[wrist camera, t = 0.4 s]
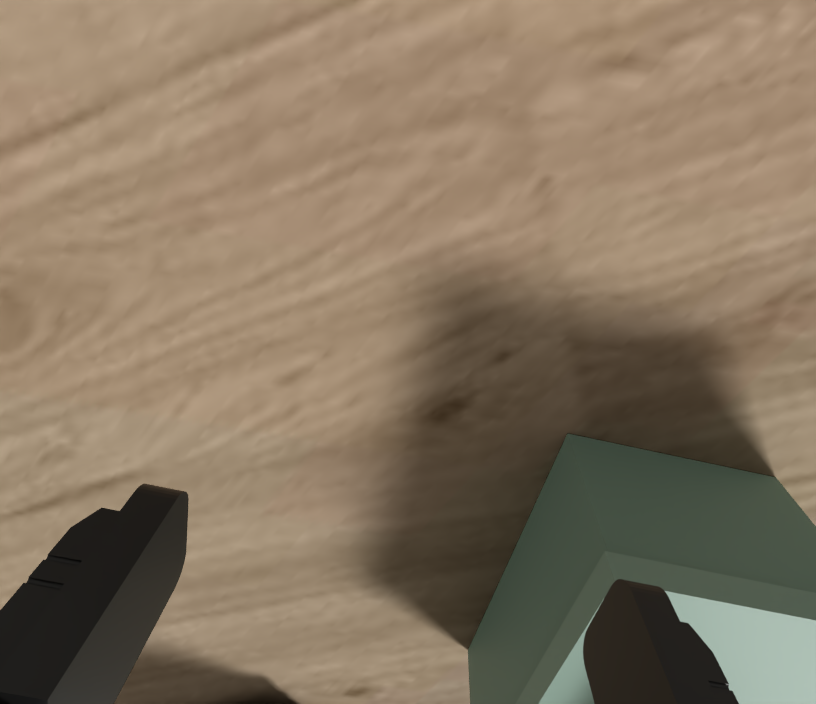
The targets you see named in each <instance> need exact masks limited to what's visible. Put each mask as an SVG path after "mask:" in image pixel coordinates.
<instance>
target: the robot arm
mask: <svg viewBox="0 0 816 704" xmlns="http://www.w3.org/2000/svg"><path fill="white" fill-rule="evenodd" d="M187 520H188V494H187V492H184V491H179V490H174V489H169V488H164V487H159V486H154V485H148V484H142V485H141V486H139V487H138V488H137V489H136V491H135V492H134V493H133V495H132V496H131V497H130V498H129V500H128V501H127V502H126V504H125V505H124V506H123V508H122V509H121V510H120V511H116V510H110V509H105V508H101V509H99V510H98V511H96V512H94V513H93V514H91V515H90V516H88V517H87V518H85V519H83V520H82V521H80V522H79V523H77V524H76V525H74V526H73V527H71V528H70V529H69V530H68V531H67V533H66V534H65V535H64V536H63V537H62V538H61V540H60V541H59V542H58V543H57V544H56V546H55V547H54V548H53V549H52V550H51V551H50V553H49V554H48V557H47V559H46V560H43V561H42V562H41V563H40V564H39V566H38V567H37V568H36V569H35V570H34V571H33V573H32V574H31V575H30V576H29V579H28V581H27V583H23V584H22V586H21V587H20V588H19V589H18V590H17V591H16V593H15V594H14V595H13V596H12V597H11V599H10V600H9V601H8V602H7V603H6V604H5V606H4V607H3V608H2V609H1V610H0V704H114V702H115V700H116V698H117V696H118V694H119V693H120V691H121V689H122V687H123V685H124V683H125V681H126V679H127V677H128V676H129V674H130V672H131V670H132V668H133V666H134V664H135V662H136V660H137V659H138V657H139V655H140V653H141V651H142V649H143V647H144V645H145V643H146V642H147V640H148V638H149V636H150V634H151V632H152V630H153V628H154V626H155V625H156V623H157V621H158V619H159V617H160V615H161V613H162V611H163V609H164V608H165V606H166V604H167V602H168V600H169V598H170V596H171V594H172V592H173V591H174V589H175V587H176V584H177V582H178V580H179V577H180V574H181V572H182V568H183V565H184V561H185V556H186V543H187ZM583 659H584V665H585V670H586V673H587V677H588V681H589V685H590V688H591V692H592V696H593V699H594V703H595V704H739V703H738V701H737V699H736V697H735V695H734V693H733V691H731V690H729V683H728V681H727V679H726V677H725V675H724V673H723V671H722V669H721V667H720V665H719V663H718V661H717V659H716V657H715V655H714V653H713V652H712V651H711V649H710V648H709V647H708V646H707V645H706V643H705V642H704V641H703V640H702V639H701V638H700V636H699V635H698V634H697V633H696V632H695V630H694V629H693V628H692V627H691V626H690V624H689V623H685V622H680V620H679V618H678V616H677V614H676V612H675V610H674V607H673V605H672V603H671V601H670V599H669V597H668V595H667V593H666V592H665V591H664V590H663V589H662V588H660V587H658V586H653V585H648V584H643V583H638V582H633V581H628V580H623V579H618V580H616V581H615V582H614V583H613V584H612V585H611V587H610V589H609V591H608V593H607V594H606V596H605V598H604V600H603V602H602V603H601V605H600V607H599V609H598V610H597V612H596V614H595V616H594V618H593V619H592V621H591V623H590V625H589V627H588V628H587V631H586V633H585V637H584V643H583Z"/></svg>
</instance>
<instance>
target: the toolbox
mask: <svg viewBox="0 0 816 704" xmlns="http://www.w3.org/2000/svg"><path fill="white" fill-rule="evenodd" d="M604 551H608V552H613V553H618V554H623V555H628V556H633V557H638V558H643V559H648V560H653V561H658V562H663V563H668V564H673V565H678V566H683V567H688V568H693V569H698V570H703V571H708V572H713V573H718V574H723V575H728V576H733V577H738V578H743V579H748V580H753V581H758V582H763V583H768V584H773V585H778V586H783V587H788V588H793V589H798V590H803V591H808V592H813V593H816V526H815V525H814V524H813V523H812V521H811V520H810V519H809V518H808V516H807V515H806V514H805V513H804V512H803V510H802V509H801V508H800V507H799V505H798V504H797V503H796V502H795V500H794V499H793V498H792V497H791V496H790V494H789V493H788V492H787V491H786V489H785V488H784V487H783V486H782V484H781V483H780V482H779V481H778V480H777V478H776V477H772V476H767V475H762V474H757V473H753V472H748V471H743V470H739V469H734V468H729V467H724V466H720V465H715V464H710V463H705V462H701V461H696V460H691V459H686V458H682V457H677V456H672V455H667V454H663V453H658V452H653V451H648V450H644V449H639V448H634V447H629V446H625V445H620V444H615V443H611V442H606V441H601V440H596V439H592V438H587V437H582V436H577V435H573V434H568V433H567V436H566V438H565V440H564V442H563V444H562V447H561V449H560V451H559V453H558V455H557V457H556V460H555V462H554V464H553V466H552V468H551V471H550V473H549V475H548V477H547V479H546V481H545V484H544V486H543V488H542V490H541V492H540V494H539V497H538V499H537V501H536V503H535V505H534V508H533V510H532V512H531V514H530V516H529V518H528V521H527V523H526V525H525V527H524V529H523V531H522V534H521V536H520V538H519V540H518V542H517V545H516V547H515V549H514V551H513V553H512V555H511V558H510V560H509V562H508V564H507V566H506V569H505V571H504V573H503V575H502V577H501V579H500V582H499V584H498V586H497V588H496V590H495V592H494V595H493V597H492V599H491V601H490V603H489V606H488V608H487V610H486V612H485V614H484V616H483V619H482V621H481V623H480V625H479V627H478V630H477V632H476V634H475V636H474V638H473V640H472V643H471V645H470V647H469V649H468V663H469V685H470V704H516V702H517V700H518V699H519V697H520V695H521V694H522V692H523V690H524V688H525V687H526V685H527V683H528V682H529V680H530V678H531V676H532V675H533V673H534V671H535V670H536V668H537V666H538V664H539V663H540V661H541V659H542V658H543V656H544V654H545V652H546V651H547V649H548V647H549V646H550V644H551V642H552V640H553V639H554V637H555V635H556V634H557V632H558V630H559V628H560V627H561V625H562V623H563V622H564V620H565V618H566V616H567V615H568V613H569V611H570V610H571V608H572V606H573V605H574V603H575V601H576V599H577V598H578V596H579V594H580V593H581V591H582V589H583V587H584V586H585V584H586V582H587V581H588V579H589V577H590V575H591V574H592V572H593V570H594V569H595V567H596V565H597V563H598V562H599V560H600V558H601V557H602V555H603V553H604Z"/></svg>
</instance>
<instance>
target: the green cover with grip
mask: <svg viewBox="0 0 816 704" xmlns="http://www.w3.org/2000/svg"><path fill="white" fill-rule="evenodd" d="M618 579H623V580H628V581H633V582H638V583H643V584H648V585H653V586H658V587H660V588H662V589H663V590H664V591H665V592H666V593H667V595H668V597H669V599H670V601H671V603H672V605H673V607H674V610H675V612H676V614H677V616H678V618H679V620H680V622H685V623H689V624H690V626H691V627H692V628H693V629H694V630H695V632H696V633H697V634H698V635H699V636H700V638H701V639H702V640H703V641H704V642H705V643H706V645H707V646H708V647H709V648H710V649H711V651H712V652H713V653H714V655H715V657H716V659H717V661H718V663H719V665H720V667H721V669H722V671H723V673H724V675H725V677H726V679H727V681H728V683H729V690H731V691H733V693H734V695H735V697H736V699H737V701H738V703H739V704H816V593H813V592H808V591H803V590H798V589H793V588H788V587H783V586H778V585H773V584H768V583H763V582H758V581H753V580H748V579H743V578H738V577H733V576H728V575H723V574H718V573H713V572H708V571H703V570H698V569H693V568H688V567H683V566H678V565H673V564H668V563H663V562H658V561H653V560H648V559H643V558H638V557H633V556H628V555H623V554H618V553H613V552H608V551H604V553H603V555H602V557H601V558H600V560H599V562H598V563H597V565H596V567H595V569H594V570H593V572H592V574H591V575H590V577H589V579H588V581H587V582H586V584H585V586H584V587H583V589H582V591H581V593H580V594H579V596H578V598H577V599H576V601H575V603H574V605H573V606H572V608H571V610H570V611H569V613H568V615H567V616H566V618H565V620H564V622H563V623H562V625H561V627H560V628H559V630H558V632H557V634H556V635H555V637H554V639H553V640H552V642H551V644H550V646H549V647H548V649H547V651H546V652H545V654H544V656H543V658H542V659H541V661H540V663H539V664H538V666H537V668H536V670H535V671H534V673H533V675H532V676H531V678H530V680H529V682H528V683H527V685H526V687H525V688H524V690H523V692H522V694H521V695H520V697H519V699H518V700H517V702H516V704H595V703H594V699H593V696H592V692H591V688H590V685H589V681H588V677H587V673H586V670H585V665H584V659H583V643H584V637H585V633H586V631H587V628H588V627H589V625H590V623H591V621H592V619H593V618H594V616H595V614H596V612H597V610H598V609H599V607H600V605H601V603H602V602H603V600H604V598H605V596H606V594H607V593H608V591H609V589H610V587H611V585H612V584H613V583H614V582H615V581H616V580H618Z"/></svg>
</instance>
